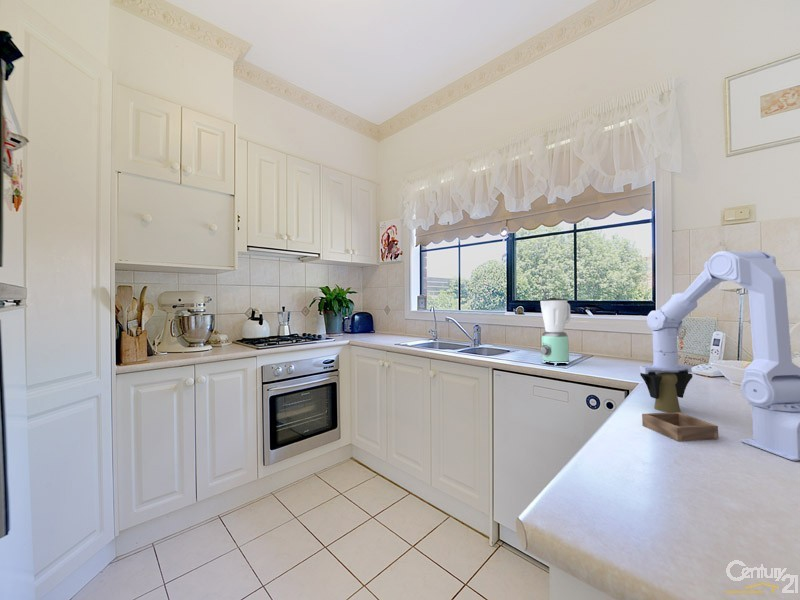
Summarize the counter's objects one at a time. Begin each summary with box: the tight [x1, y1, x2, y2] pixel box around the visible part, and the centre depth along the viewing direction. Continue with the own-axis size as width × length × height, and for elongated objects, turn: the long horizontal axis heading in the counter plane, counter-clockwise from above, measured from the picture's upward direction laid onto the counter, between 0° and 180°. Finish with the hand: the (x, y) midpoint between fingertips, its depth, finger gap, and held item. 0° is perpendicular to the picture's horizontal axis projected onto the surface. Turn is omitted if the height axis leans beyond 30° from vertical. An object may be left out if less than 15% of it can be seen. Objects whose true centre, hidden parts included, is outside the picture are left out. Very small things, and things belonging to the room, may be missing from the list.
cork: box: [653, 372, 681, 413], centre depth 97 cm, size 6×6×11 cm
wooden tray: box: [641, 412, 719, 442], centre depth 80 cm, size 10×10×3 cm
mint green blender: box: [539, 297, 571, 363], centre depth 175 cm, size 19×13×35 cm
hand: (666, 397), depth 97 cm, fingers open, 7 cm apart
